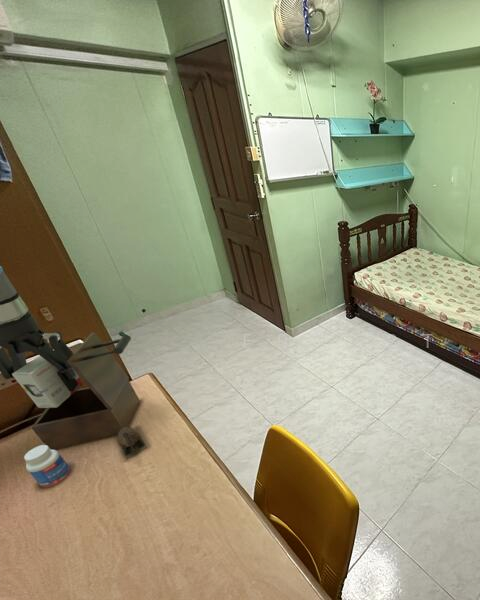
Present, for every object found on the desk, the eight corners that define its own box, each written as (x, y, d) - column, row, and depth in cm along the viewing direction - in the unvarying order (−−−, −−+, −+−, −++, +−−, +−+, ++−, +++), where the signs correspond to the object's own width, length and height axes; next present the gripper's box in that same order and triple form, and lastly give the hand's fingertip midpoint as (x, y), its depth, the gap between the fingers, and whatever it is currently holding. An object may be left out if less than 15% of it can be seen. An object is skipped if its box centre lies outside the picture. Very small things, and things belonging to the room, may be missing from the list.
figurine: (153, 458, 82) (140, 436, 78) (132, 470, 79) (117, 448, 75) (137, 429, 90) (125, 407, 86) (118, 439, 87) (104, 418, 83)
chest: (51, 452, 84) (30, 427, 79) (75, 416, 94) (58, 392, 89) (125, 434, 89) (110, 410, 84) (140, 402, 99) (128, 379, 94)
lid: (66, 361, 75) (111, 350, 77) (91, 332, 85) (130, 323, 87) (108, 409, 84) (147, 398, 86) (126, 378, 94) (160, 369, 96)
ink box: (67, 384, 88) (43, 351, 82) (85, 384, 88) (63, 351, 82) (37, 409, 80) (8, 374, 74) (57, 408, 80) (30, 373, 74)
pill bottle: (57, 488, 75) (34, 463, 71) (34, 488, 75) (11, 463, 71) (77, 467, 80) (58, 442, 75) (57, 466, 80) (36, 442, 75)
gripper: (-66, 334, 66) (0, 410, 77) (49, 318, 72) (95, 392, 83) (-37, 316, 72) (20, 389, 83) (67, 303, 78) (108, 373, 89)
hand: (58, 390), depth 83 cm, fingers closed on ink box, 6 cm apart
